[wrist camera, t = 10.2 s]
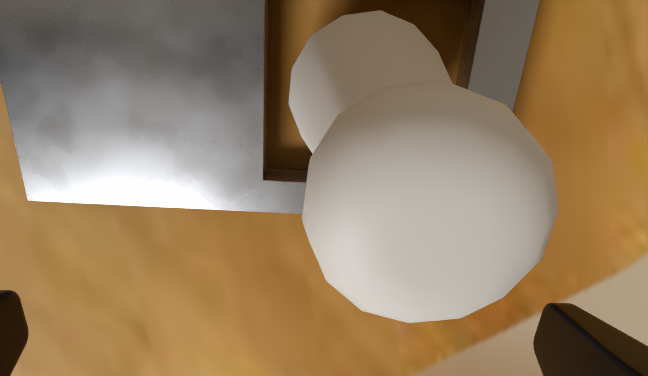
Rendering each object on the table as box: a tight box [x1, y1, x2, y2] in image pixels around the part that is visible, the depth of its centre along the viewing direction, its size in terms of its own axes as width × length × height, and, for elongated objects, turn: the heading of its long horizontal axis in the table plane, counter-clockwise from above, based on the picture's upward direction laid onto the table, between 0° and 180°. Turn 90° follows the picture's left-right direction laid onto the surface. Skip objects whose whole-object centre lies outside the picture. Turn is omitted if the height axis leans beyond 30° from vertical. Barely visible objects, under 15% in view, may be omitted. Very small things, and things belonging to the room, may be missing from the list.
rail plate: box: [0, 0, 540, 214], centre depth 18 cm, size 20×11×2 cm, turn 86°
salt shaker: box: [289, 10, 559, 323], centre depth 13 cm, size 6×6×13 cm
